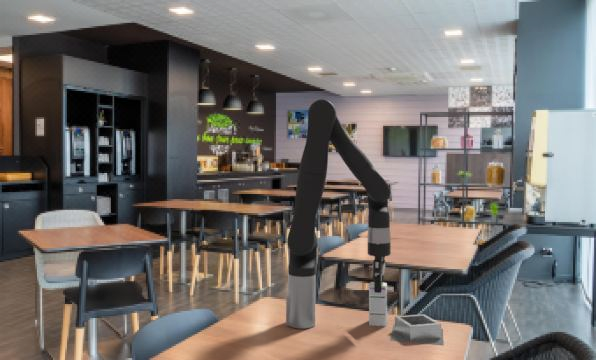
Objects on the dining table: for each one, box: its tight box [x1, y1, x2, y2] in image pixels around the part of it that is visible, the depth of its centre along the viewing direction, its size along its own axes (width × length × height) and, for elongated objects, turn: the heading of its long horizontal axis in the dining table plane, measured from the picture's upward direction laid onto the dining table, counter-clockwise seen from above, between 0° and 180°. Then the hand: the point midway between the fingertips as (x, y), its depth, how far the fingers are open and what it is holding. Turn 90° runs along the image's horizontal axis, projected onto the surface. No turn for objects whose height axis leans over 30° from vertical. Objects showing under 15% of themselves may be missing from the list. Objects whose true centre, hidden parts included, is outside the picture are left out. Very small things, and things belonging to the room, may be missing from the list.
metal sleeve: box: [394, 313, 442, 341], centre depth 164 cm, size 10×10×4 cm
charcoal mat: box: [389, 324, 445, 346], centre depth 165 cm, size 16×16×1 cm
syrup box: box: [368, 281, 388, 327], centre depth 175 cm, size 6×6×14 cm
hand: (379, 289), depth 175 cm, fingers open, 8 cm apart
